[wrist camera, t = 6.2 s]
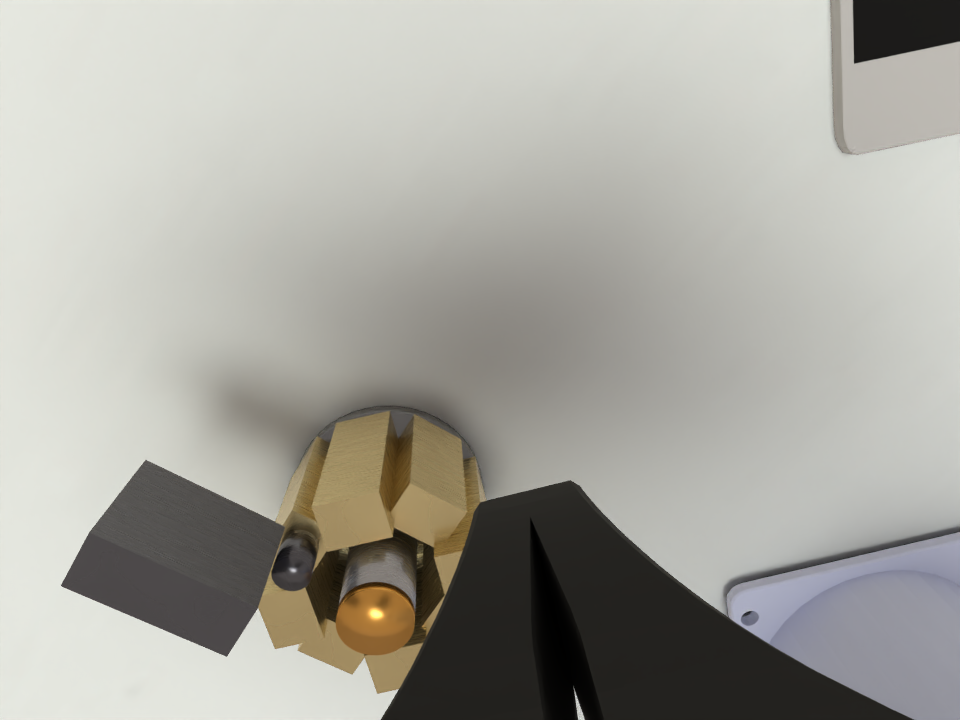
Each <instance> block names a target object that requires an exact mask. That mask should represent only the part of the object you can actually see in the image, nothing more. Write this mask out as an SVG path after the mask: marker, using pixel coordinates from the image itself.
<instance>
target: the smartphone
mask: <svg viewBox="0 0 960 720" xmlns="http://www.w3.org/2000/svg"><path fill="white" fill-rule="evenodd" d="M830 2H831V40H832V79H833V117H834V133H835V139H836V142H837V145H838V147H839V148H840V150H841V151H842V152H844V153H848V154H855V155H859V154H864V153H869V152H874V151H878V150H883V149H888V148H893V147H898V146H902V145H907V144H912V143H917V142H922V141H926V140H931V139H936V138H941V137H945V136H950V135H955V134H960V0H830Z"/></svg>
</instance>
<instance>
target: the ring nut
mask: <svg viewBox="0 0 960 720" xmlns="http://www.w3.org/2000/svg"><path fill="white" fill-rule="evenodd" d="M484 501H486V497H485V493H484V489H483V485H482V481H481V477H480V474H479V470H478V466H477V462H476V458H475V457H471V458H467V459H463V455H462V442H461V439H460V438H458V437H456V436H454V435H452V434H451V433H449V432H447V431H445V430H443V429H441V428H439V427H438V426H436V425H434V424H432V423H430V422H428V421H427V420H425V419H423V418H421V417H419V416H417V415H416V414H414V415H413V417H412V418H411V420H410V421H409V423H408V424H407V426H406V428H405V429H404V431H403V432H402V434H401V435H400V437H399V438H398V436H397V433H396V429H395V426H394V422H393V419H392V416H391V412H390V411H386V412H382V413H377V414H373V415H369V416H364V417H360V418H356V419H351V420H347V421H343V422H338V423H336V425H335V429H334V432H333V436H332V439H331V442H330V443H329V442H327V441H325V440H323V439H321V438H320V437H318V436H317V437H316V439H315V440H314V442H313V444H312V445H311V447H310V448H309V450H308V452H307V453H306V455H305V457H304V458H303V460H302V462H301V463H300V465H299V466H298V468H297V470H296V471H295V473H294V475H293V476H292V478H291V480H290V483H289V486H288V488H287V491H286V494H285V497H284V499H283V502H282V505H281V507H280V510H279V513H278V516H277V518H276V521H275V522H274V521H272V520H270V519H268V518H266V517H264V516H262V515H260V514H258V513H255V512H253V511H251V510H249V509H247V508H245V507H243V506H241V505H239V504H237V503H235V502H233V501H230V500H228V499H226V498H224V497H222V496H220V495H218V494H216V493H214V492H212V491H210V490H207V489H205V488H203V487H201V486H199V485H197V484H195V483H193V482H191V481H189V480H187V479H185V478H182V477H180V476H178V475H176V474H174V473H172V472H170V471H168V470H166V469H164V468H162V467H160V466H157V465H155V464H153V463H151V462H149V461H147V460H145V462H144V463H143V464H142V465H141V467H140V468H139V469H138V471H137V472H136V473H135V474H134V476H133V477H132V478H131V480H130V481H129V482H128V483H127V485H126V486H125V487H124V489H123V490H122V491H121V492H120V494H119V495H118V496H117V498H116V499H115V500H114V501H113V503H112V504H111V505H110V507H109V508H108V509H107V510H106V512H105V513H104V514H103V516H102V517H101V518H100V519H99V521H98V522H97V523H96V525H95V526H94V527H93V528H92V530H91V531H90V532H89V534H88V536H87V538H86V540H85V541H84V543H83V545H82V547H81V549H80V551H79V553H78V555H77V556H76V558H75V560H74V562H73V564H72V566H71V568H70V570H69V571H68V573H67V575H66V577H65V579H64V581H63V583H62V585H61V586H62V587H64V588H67V589H69V590H71V591H74V592H76V593H78V594H81V595H83V596H85V597H88V598H90V599H93V600H95V601H97V602H100V603H102V604H104V605H107V606H109V607H111V608H114V609H116V610H118V611H121V612H123V613H125V614H128V615H130V616H132V617H135V618H137V619H140V620H142V621H144V622H147V623H149V624H151V625H154V626H156V627H158V628H161V629H163V630H165V631H168V632H170V633H172V634H175V635H177V636H179V637H182V638H184V639H187V640H189V641H191V642H194V643H196V644H198V645H201V646H203V647H205V648H208V649H210V650H212V651H215V652H217V653H219V654H222V655H224V656H226V657H227V656H228V654H229V652H230V651H231V649H232V648H233V646H234V645H235V643H236V641H237V640H238V638H239V637H240V635H241V634H242V632H243V630H244V629H245V627H246V626H247V624H248V623H249V621H250V619H251V618H252V616H253V615H254V613H255V612H256V610H257V608H259V611H260V613H261V616H262V618H263V620H264V623H265V625H266V628H267V630H268V633H269V635H270V638H271V640H272V643H273V645H274V647H275V649H278V648H282V647H287V646H291V645H296V644H299V647H298V651H300V652H302V653H304V654H306V655H309V656H311V657H313V658H316V659H318V660H320V661H322V662H325V663H327V664H329V665H332V666H334V667H336V668H338V669H341V670H343V671H345V672H348V673H350V674H353V673H354V671H355V670H356V669H357V667H358V666H359V664H360V663H361V661H362V660H363V659H364V657H365V660H366V663H367V665H368V668H369V671H370V674H371V677H372V679H373V682H374V685H375V688H376V691H377V694H378V693H383V692H387V691H392V690H396V689H399V688H400V687H401V685H402V683H403V681H404V679H405V678H406V676H407V674H408V672H409V670H410V668H411V667H412V665H413V663H414V661H415V659H416V657H417V655H418V653H419V651H420V649H421V647H422V645H423V643H424V640H425V638H426V636H427V634H428V632H429V630H430V628H431V626H432V624H433V622H434V620H435V618H436V616H437V614H438V612H439V609H440V607H441V605H442V602H443V600H444V597H445V595H446V592H447V590H448V588H449V585H450V583H451V580H452V578H453V575H454V573H455V570H456V568H457V565H458V562H459V560H460V557H461V554H462V551H463V548H464V545H465V542H466V539H467V536H468V533H469V529H470V526H471V522H472V518H473V514H474V511H475V509H476V508H477V506H478V505H479V503H480V502H484ZM394 528H396V529H398V530H400V531H402V532H404V533H406V534H408V535H410V536H412V537H414V538H416V539H418V549H417V576H416V604H415V627H414V631H413V634H412V636H411V638H410V639H409V641H408V642H407V643H406V644H405V645H404V646H403V647H401V648H400V649H398V650H396V651H394V652H392V653H388V654H384V655H366V654H362V653H359V652H356V651H354V650H352V649H351V648H349V647H348V646H347V645H345V644H344V643H343V641H342V640H341V639H340V637H339V635H338V633H337V630H336V616H337V611H338V605H339V600H340V595H341V589H342V584H343V578H344V573H345V568H346V562H347V557H348V551H349V547H351V546H355V545H360V544H364V543H369V542H373V541H378V540H382V539H386V538H391V537H393V531H394Z"/></svg>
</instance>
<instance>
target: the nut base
mask: <svg viewBox="0 0 960 720" xmlns="http://www.w3.org/2000/svg"><path fill="white" fill-rule="evenodd" d="M386 411H390V412H391V416H392V419H393V422H394V426H395V429H396V433H397V436H398V438H399V437H400V435H401V434H402V432H403V431H404V429H405V428H406V426H407V424H408V423H409V421H410V420H411V418H412V417H413V415H414V414H416V415H417V416H419V417H421V418H423V419H425V420H427V421H428V422H430V423H432V424H434V425H436V426H438V427H439V428H441V429H443V430H445V431H447V432H449V433H451V434H452V435H454V436H456V437H458V438H460V439H461V442H462V455H463V459H467V458H471V457H475V456H474V454H473V452H472V450H471V449H470V447H469V446H468V444H467V443H466V442H465V440H464V439H463V438H462V437H461V436H460V435H459V434H458V433H457V432H456V431H455V430H454V429H452V428H451V427H450V426H449V425H447V424H446V423H444V422H443V421H441V420H439V419H438V418H436V417H434V416H431V415H429V414H427V413H424V412H421V411H418V410H415V409H410V408H405V407H395V406H382V407H372V408H367V409H362V410H359V411H356V412H352V413H350V414H348V415H346V416H343V417H341V418H339V419H338V420H336V421H334V422H333V423H331V424H330V425H328V426H327V427H326V428H325V429H324V430H322V431H321V432H320V433H319V434H318V435H317V436H318V437H320V438H321V439H323V440H325V441H327V442H329V443H330V442H331V439H332V436H333V432H334V429H335V425H336V423H338V422H343V421H347V420H351V419H356V418H360V417H364V416H369V415H373V414H377V413H382V412H386ZM317 436H316V437H317ZM315 439H316V438H315ZM315 439H314V440H315ZM314 440H313V441H312V442H311V444H310V445H309V447H308V448H307V450H306V452H305V454H304V456H303V458H304V457H305V455H306V453H307V452H308V450H309V448H310V447H311V445H312V444H313V442H314ZM303 458H302V460H303ZM302 460H301V462H302ZM476 462H477V460H476ZM477 466H478V463H477ZM478 470H479V474H480V469H479V466H478ZM480 477H481V474H480ZM481 481H482V479H481ZM417 549H418V539H416V538H414V537H412V536H410V535H408V534H406V533H404V532H402V531H400V530H398V529H396V528H394V531H393V537H391V538H386V539H382V540H378V541H373V542H369V543H364V544H360V545H355V546H351V547H349V551H348V557H347V562H346V568H345V573H344V578H343V584H342V589H341V595H340V600H339V605H338V611H337V616H336V630H337V633H338V635H339V637H340V639H341V640H342V641H343V643H344V644H345V645H347V646H348V647H349V648H351V649H352V650H354V651H356V652H359V653H362V654H366V655H384V654H388V653H392V652H394V651H396V650H398V649H400V648H401V647H403V646H404V645H405V644H406V643H407V642H408V641H409V639H410V638H411V636H412V634H413V631H414V627H415V604H416V576H417Z"/></svg>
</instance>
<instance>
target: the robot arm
mask: <svg viewBox="0 0 960 720" xmlns="http://www.w3.org/2000/svg"><path fill="white" fill-rule="evenodd" d="M727 608H728V614H729V618H728V617H727V616H725V615H724V614H722V613H721V612H720V611H718V610H717V609H715V608H714V607H712V606H711V605H710V604H708V603H707V602H705V601H704V600H703V599H701V598H700V597H699V596H697V595H696V594H695V593H693V592H692V591H691V590H690V589H688V588H687V587H686V586H684V585H683V584H682V583H680V582H679V581H678V580H676V579H675V578H674V577H673V576H671V575H670V574H669V573H668V572H666V571H665V570H664V569H663V568H662V567H660V566H659V565H658V564H657V563H656V562H654V561H653V560H652V559H651V558H650V557H649V556H648V555H647V554H645V553H644V552H643V551H642V550H641V549H640V548H639V547H637V546H636V545H635V544H634V543H633V542H632V541H631V540H629V539H628V538H627V537H626V536H625V535H624V534H623V533H622V532H621V531H620V530H619V529H618V528H617V527H616V526H615V525H614V524H613V523H612V522H611V521H610V520H609V519H608V518H607V517H606V516H605V515H604V514H603V513H602V512H601V511H600V510H599V509H598V508H597V507H596V505H595V504H594V503H593V502H592V501H591V500H590V499H589V497H588V496H587V495H586V494H585V492H584V491H583V490H582V488H581V487H580V486H579V485H577V484H576V483H574V482H572V481H571V480H570V481H566V482H562V483H558V484H553V485H549V486H545V487H541V488H537V489H533V490H529V491H525V492H521V493H517V494H512V495H508V496H504V497H500V498H496V499H492V500H488V501H484V502H480V503H479V505H478V506H477V508H476V509H475V511H474V514H473V518H472V522H471V526H470V529H469V533H468V536H467V539H466V542H465V545H464V548H463V551H462V554H461V557H460V560H459V562H458V565H457V568H456V570H455V573H454V575H453V578H452V580H451V583H450V585H449V588H448V590H447V592H446V595H445V597H444V600H443V602H442V605H441V607H440V609H439V612H438V614H437V616H436V618H435V620H434V622H433V624H432V626H431V628H430V630H429V632H428V634H427V636H426V638H425V640H424V643H423V645H422V647H421V649H420V651H419V653H418V655H417V657H416V659H415V661H414V663H413V665H412V667H411V668H410V670H409V672H408V674H407V676H406V678H405V679H404V681H403V683H402V685H401V687H400V688H399V690H398V692H397V694H396V695H395V697H394V699H393V700H392V702H391V704H390V706H389V707H388V709H387V710H386V712H385V714H384V715H383V717H382V719H381V720H578V716H577V709H576V701H575V694H574V689H575V692H576V695H577V698H578V701H579V704H580V706H581V709H582V712H583V715H584V718H585V720H960V532H958V533H954V534H949V535H945V536H941V537H937V538H932V539H928V540H924V541H920V542H915V543H911V544H907V545H902V546H898V547H894V548H890V549H885V550H881V551H877V552H873V553H868V554H864V555H860V556H855V557H851V558H847V559H843V560H838V561H834V562H830V563H826V564H821V565H817V566H813V567H808V568H804V569H800V570H796V571H791V572H787V573H783V574H779V575H774V576H770V577H766V578H761V579H757V580H753V581H749V582H744V583H741V584H738V585H736V586H734V587H733V588H732V589H731V590H730V591H729V593H728V594H727ZM748 611H752V612H751V614H750V615H747V616H742V615H743V614H744V613H746V612H748ZM573 686H574V687H573Z"/></svg>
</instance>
